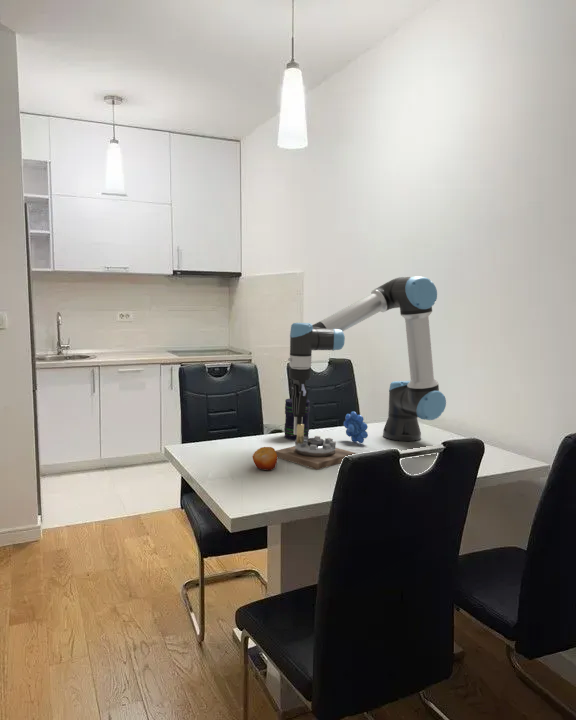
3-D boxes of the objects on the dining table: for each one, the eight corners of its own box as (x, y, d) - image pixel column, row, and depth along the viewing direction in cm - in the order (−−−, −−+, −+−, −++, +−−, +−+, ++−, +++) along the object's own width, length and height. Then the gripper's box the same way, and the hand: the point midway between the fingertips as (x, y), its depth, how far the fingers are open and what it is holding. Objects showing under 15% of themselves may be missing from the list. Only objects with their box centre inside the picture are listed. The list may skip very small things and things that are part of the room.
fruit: (285, 462, 186) (279, 444, 181) (274, 479, 180) (267, 461, 176) (264, 458, 190) (258, 440, 185) (253, 474, 184) (246, 457, 180)
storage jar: (308, 440, 220) (310, 403, 219) (283, 440, 220) (284, 402, 219) (308, 434, 230) (309, 398, 228) (284, 434, 230) (285, 397, 229)
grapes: (336, 441, 221) (337, 410, 220) (347, 438, 226) (348, 408, 224) (359, 447, 213) (361, 415, 211) (370, 444, 217) (372, 413, 216)
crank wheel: (290, 446, 202) (291, 420, 201) (328, 445, 205) (329, 419, 204) (300, 457, 189) (301, 429, 187) (340, 455, 192) (341, 428, 191)
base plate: (312, 446, 211) (312, 440, 211) (355, 458, 197) (355, 451, 197) (274, 456, 197) (274, 449, 197) (317, 469, 183) (317, 462, 183)
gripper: (284, 365, 200) (282, 430, 203) (294, 370, 188) (292, 439, 191) (304, 365, 202) (302, 429, 205) (316, 370, 190) (313, 438, 193)
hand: (297, 434), depth 198 cm, fingers closed
